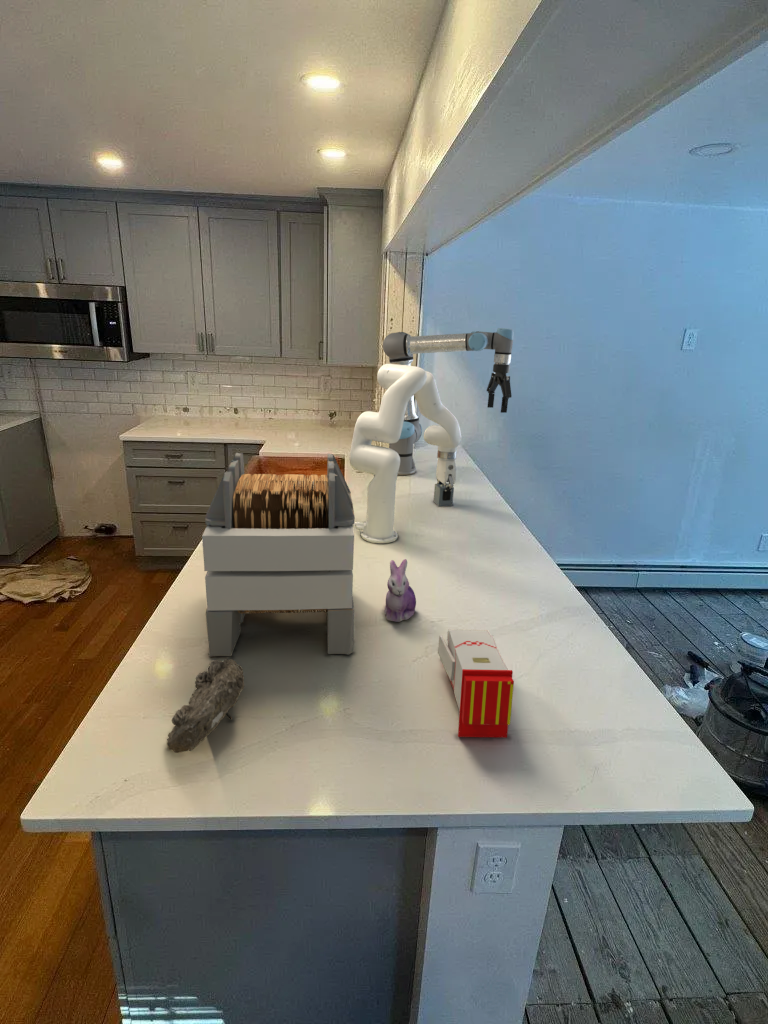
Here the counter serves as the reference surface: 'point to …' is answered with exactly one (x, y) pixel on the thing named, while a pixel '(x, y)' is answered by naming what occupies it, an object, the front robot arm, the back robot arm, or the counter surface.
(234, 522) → the record crate stand
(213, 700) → the fossil
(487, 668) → the toy
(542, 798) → the counter surface
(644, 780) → the counter surface
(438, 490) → the brick
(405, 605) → the figurine
